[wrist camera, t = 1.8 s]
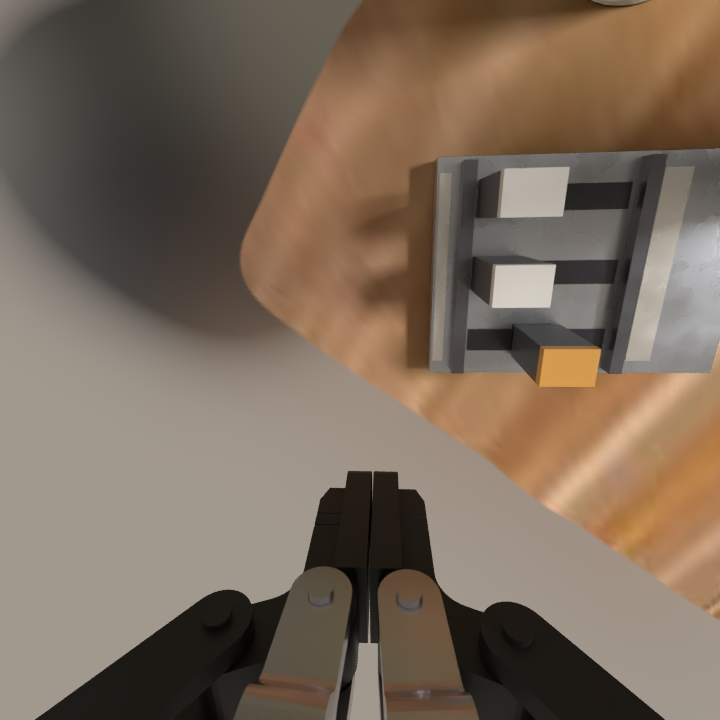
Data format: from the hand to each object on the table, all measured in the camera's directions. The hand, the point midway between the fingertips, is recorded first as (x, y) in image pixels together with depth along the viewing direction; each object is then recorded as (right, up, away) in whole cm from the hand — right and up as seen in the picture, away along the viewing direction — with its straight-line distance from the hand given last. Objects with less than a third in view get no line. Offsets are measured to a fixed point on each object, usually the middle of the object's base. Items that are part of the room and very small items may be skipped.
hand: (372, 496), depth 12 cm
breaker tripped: (+12, +5, +15) cm, 20 cm away
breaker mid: (+8, +10, +14) cm, 19 cm away
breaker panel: (+14, +10, +15) cm, 23 cm away
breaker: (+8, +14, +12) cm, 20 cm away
